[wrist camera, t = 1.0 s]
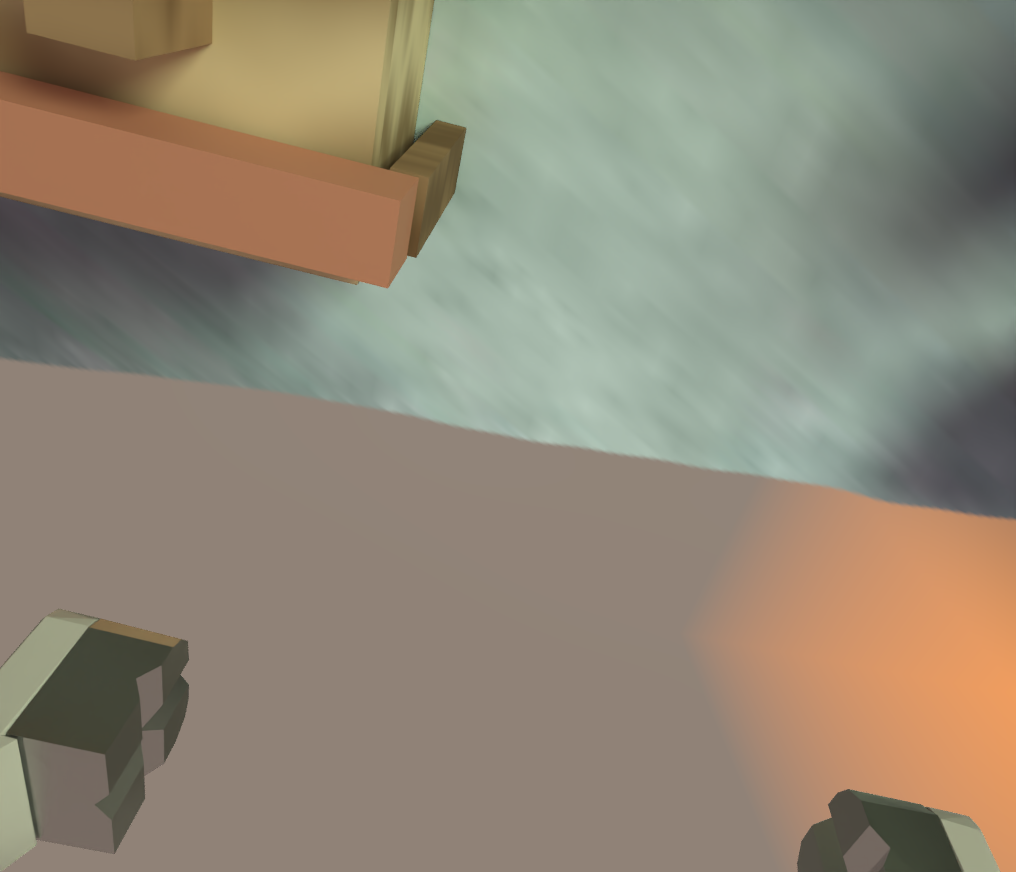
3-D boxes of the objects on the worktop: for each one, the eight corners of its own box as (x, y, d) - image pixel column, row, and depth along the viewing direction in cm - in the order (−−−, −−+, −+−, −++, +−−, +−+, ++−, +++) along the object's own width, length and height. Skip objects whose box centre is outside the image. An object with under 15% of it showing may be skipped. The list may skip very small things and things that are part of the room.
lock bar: (-99, 46, 26) (-174, 55, 23) (418, 177, 26) (400, 200, 24) (-80, 136, 27) (-149, 154, 25) (406, 258, 28) (387, 288, 25)
